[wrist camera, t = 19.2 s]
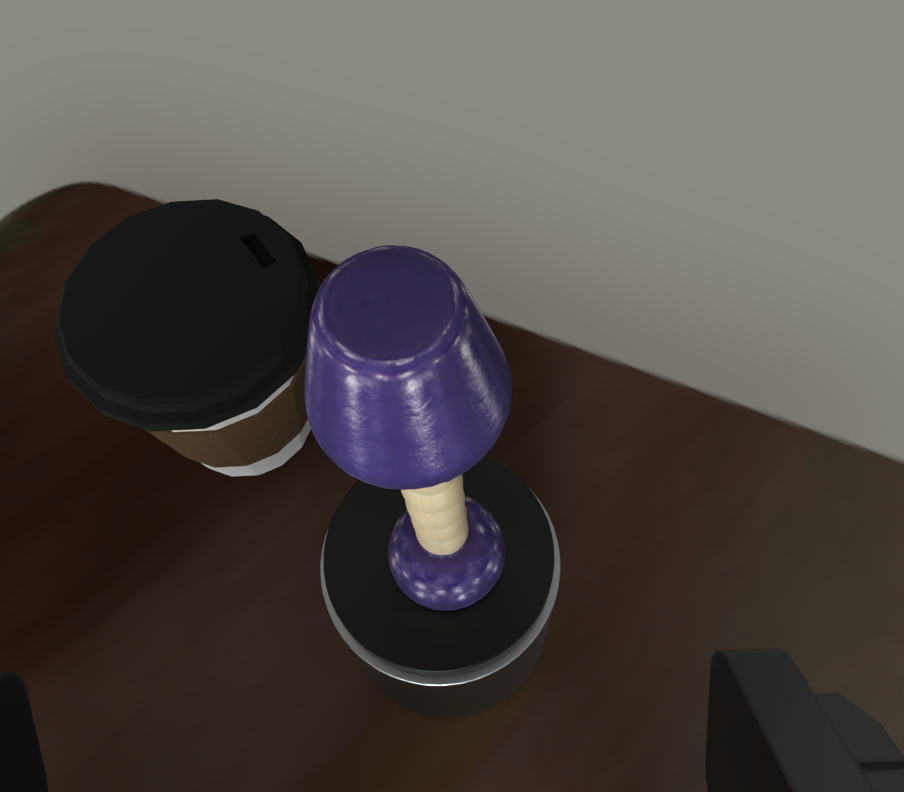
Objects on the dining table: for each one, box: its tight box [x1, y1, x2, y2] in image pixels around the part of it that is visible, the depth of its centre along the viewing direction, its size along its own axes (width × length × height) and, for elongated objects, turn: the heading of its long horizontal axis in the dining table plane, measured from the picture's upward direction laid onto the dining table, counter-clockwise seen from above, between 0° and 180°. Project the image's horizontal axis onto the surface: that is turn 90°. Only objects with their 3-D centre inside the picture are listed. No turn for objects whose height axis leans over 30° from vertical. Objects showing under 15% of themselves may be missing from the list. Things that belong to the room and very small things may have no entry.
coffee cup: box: [55, 199, 321, 476], centre depth 39 cm, size 11×11×12 cm
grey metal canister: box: [320, 456, 561, 719], centre depth 35 cm, size 9×9×10 cm
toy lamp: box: [305, 245, 512, 611], centre depth 23 cm, size 5×5×17 cm
